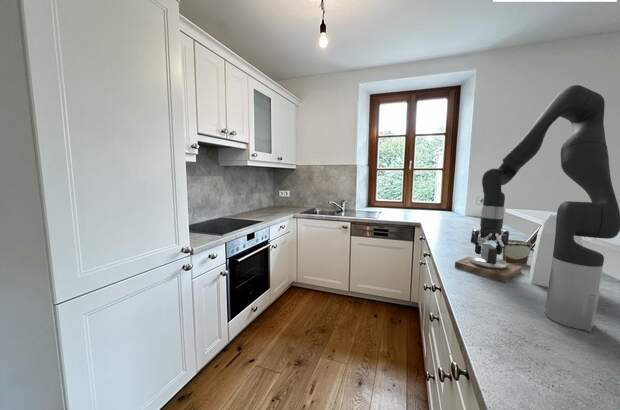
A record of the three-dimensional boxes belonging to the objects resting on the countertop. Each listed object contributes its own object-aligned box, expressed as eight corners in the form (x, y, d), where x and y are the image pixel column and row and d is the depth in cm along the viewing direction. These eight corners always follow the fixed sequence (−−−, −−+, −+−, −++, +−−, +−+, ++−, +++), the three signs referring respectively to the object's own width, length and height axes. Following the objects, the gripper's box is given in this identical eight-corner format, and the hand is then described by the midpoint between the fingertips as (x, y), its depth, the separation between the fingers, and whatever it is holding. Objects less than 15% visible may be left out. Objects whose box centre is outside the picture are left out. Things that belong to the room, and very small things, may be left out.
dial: (466, 256, 112) (467, 241, 111) (500, 260, 108) (502, 244, 107) (473, 266, 100) (475, 248, 99) (512, 271, 95) (514, 252, 95)
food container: (520, 260, 117) (522, 239, 116) (530, 264, 111) (533, 243, 110) (492, 258, 118) (495, 238, 117) (501, 263, 112) (503, 242, 111)
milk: (571, 282, 93) (581, 215, 89) (577, 293, 84) (589, 219, 81) (529, 274, 100) (537, 212, 97) (531, 283, 91) (540, 215, 88)
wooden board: (520, 272, 102) (521, 265, 101) (504, 282, 92) (505, 275, 91) (472, 259, 117) (473, 254, 116) (454, 267, 106) (455, 261, 106)
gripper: (502, 215, 105) (497, 251, 107) (469, 214, 105) (465, 251, 107) (516, 218, 98) (511, 257, 100) (481, 217, 98) (477, 256, 100)
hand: (488, 254), depth 103 cm, fingers open, 8 cm apart
